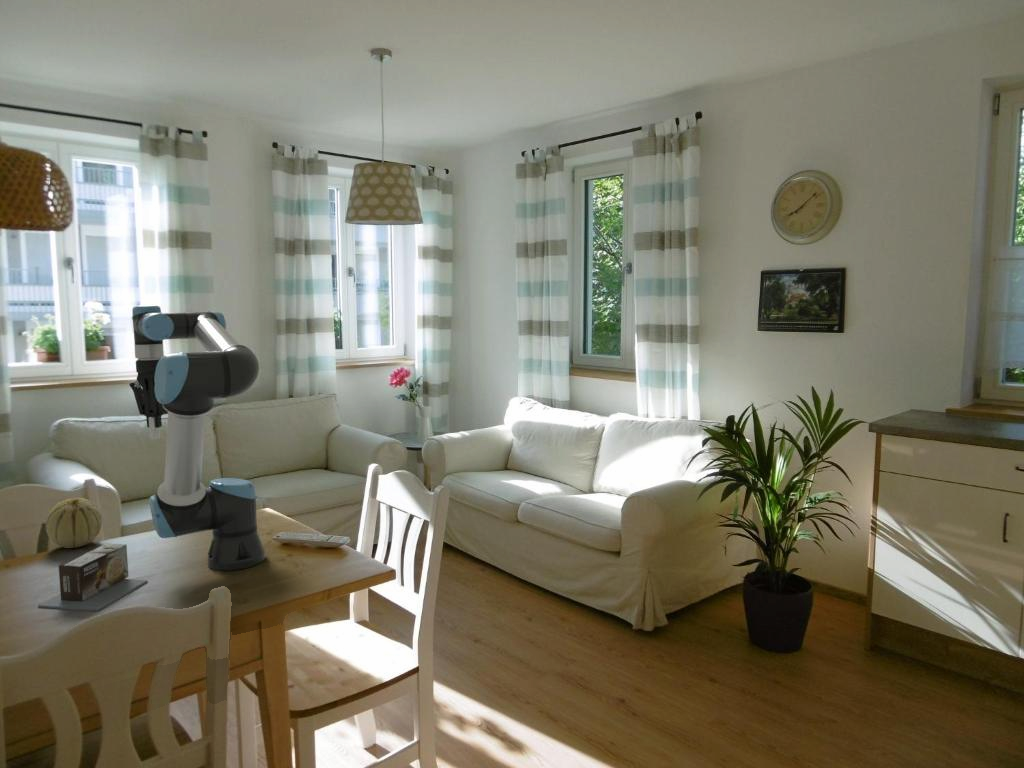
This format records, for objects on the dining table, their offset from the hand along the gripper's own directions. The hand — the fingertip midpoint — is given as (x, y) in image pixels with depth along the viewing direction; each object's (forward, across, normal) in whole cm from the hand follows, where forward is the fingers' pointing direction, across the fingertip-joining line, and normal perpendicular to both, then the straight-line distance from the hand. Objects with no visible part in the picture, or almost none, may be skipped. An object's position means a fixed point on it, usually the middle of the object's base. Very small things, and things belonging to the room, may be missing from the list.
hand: (155, 438), depth 215 cm
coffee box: (+28, -6, +26) cm, 38 cm away
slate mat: (+32, -7, +36) cm, 49 cm away
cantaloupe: (+33, +25, +5) cm, 41 cm away
